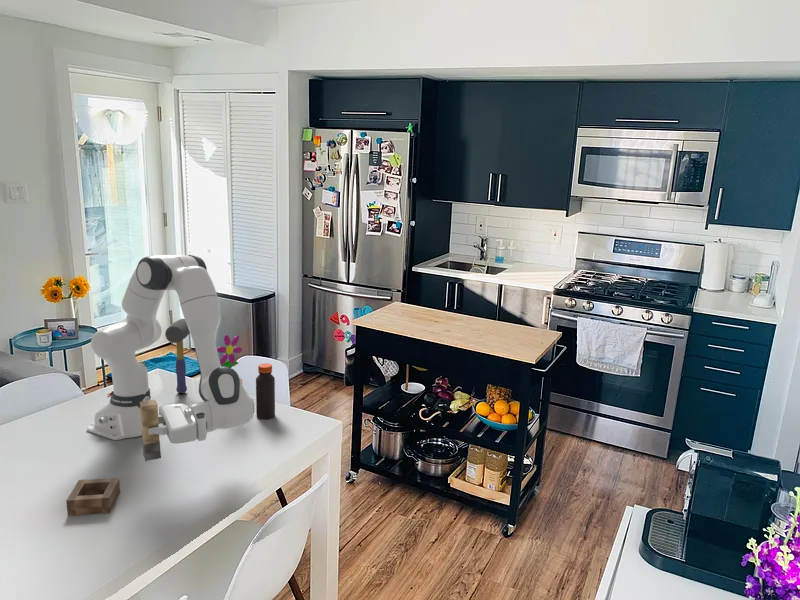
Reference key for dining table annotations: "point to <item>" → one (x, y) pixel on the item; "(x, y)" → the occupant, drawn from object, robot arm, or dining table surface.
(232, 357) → the flowerpot
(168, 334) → the rubber mallet
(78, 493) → the wooden square ring
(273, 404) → the bottle
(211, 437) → the dining table surface
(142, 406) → the light wooden block
